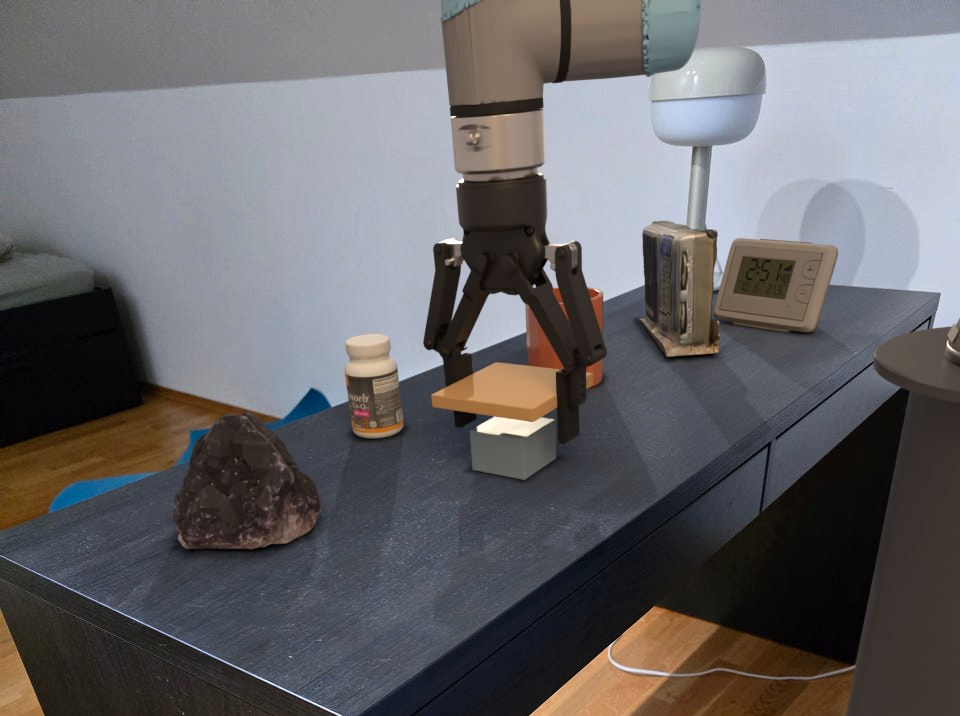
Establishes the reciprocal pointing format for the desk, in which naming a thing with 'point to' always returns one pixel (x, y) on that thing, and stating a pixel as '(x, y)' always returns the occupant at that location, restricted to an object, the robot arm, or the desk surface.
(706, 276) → the radio
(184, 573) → the desk surface
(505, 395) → the mat
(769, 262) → the digital clock
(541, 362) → the cup
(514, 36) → the robot arm
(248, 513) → the crystal cluster
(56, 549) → the desk surface
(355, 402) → the pill bottle
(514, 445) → the stand
